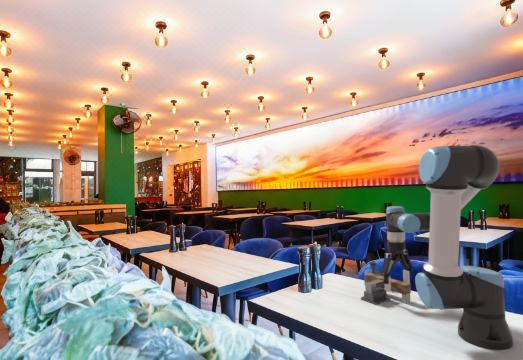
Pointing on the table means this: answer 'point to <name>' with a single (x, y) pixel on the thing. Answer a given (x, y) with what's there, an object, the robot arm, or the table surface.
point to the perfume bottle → (372, 269)
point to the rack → (403, 298)
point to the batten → (395, 284)
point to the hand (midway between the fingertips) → (397, 287)
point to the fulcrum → (375, 292)
